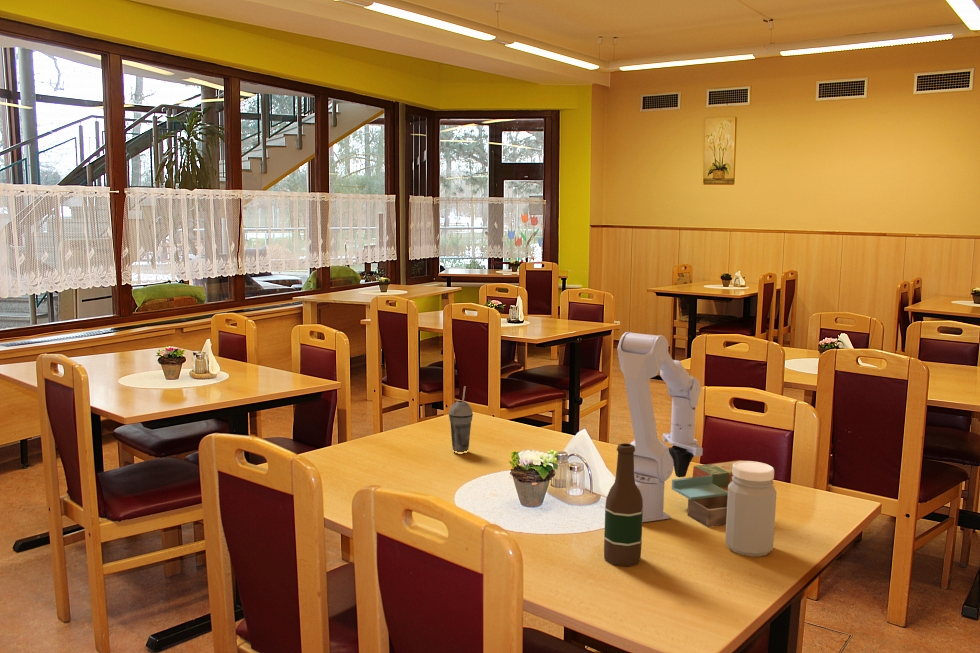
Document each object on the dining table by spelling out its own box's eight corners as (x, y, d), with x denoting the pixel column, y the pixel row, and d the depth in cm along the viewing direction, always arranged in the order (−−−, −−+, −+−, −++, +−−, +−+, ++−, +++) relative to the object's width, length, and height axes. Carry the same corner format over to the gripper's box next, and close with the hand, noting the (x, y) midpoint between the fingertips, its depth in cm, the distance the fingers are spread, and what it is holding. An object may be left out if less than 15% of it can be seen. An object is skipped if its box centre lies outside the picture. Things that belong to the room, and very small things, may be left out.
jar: (733, 558, 162) (737, 473, 159) (718, 539, 171) (722, 459, 169) (780, 558, 162) (785, 473, 160) (763, 539, 172) (767, 459, 169)
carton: (761, 483, 211) (761, 468, 210) (710, 489, 205) (711, 474, 205) (741, 474, 218) (742, 459, 218) (691, 479, 213) (692, 464, 212)
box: (707, 527, 178) (708, 510, 178) (687, 515, 186) (688, 498, 185) (748, 521, 182) (748, 505, 181) (726, 510, 189) (727, 494, 189)
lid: (690, 499, 184) (691, 490, 184) (671, 489, 192) (672, 479, 191) (729, 494, 188) (730, 485, 188) (709, 484, 195) (710, 475, 195)
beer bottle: (615, 548, 166) (618, 437, 163) (648, 558, 161) (652, 444, 158) (595, 560, 160) (599, 445, 157) (629, 570, 155) (633, 452, 152)
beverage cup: (445, 449, 238) (445, 384, 235) (468, 448, 240) (469, 383, 237) (451, 456, 231) (452, 389, 228) (475, 454, 233) (476, 388, 230)
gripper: (714, 429, 190) (711, 483, 192) (680, 415, 204) (677, 466, 206) (689, 431, 188) (686, 486, 190) (656, 417, 202) (654, 468, 203)
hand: (680, 476), depth 198 cm, fingers closed
